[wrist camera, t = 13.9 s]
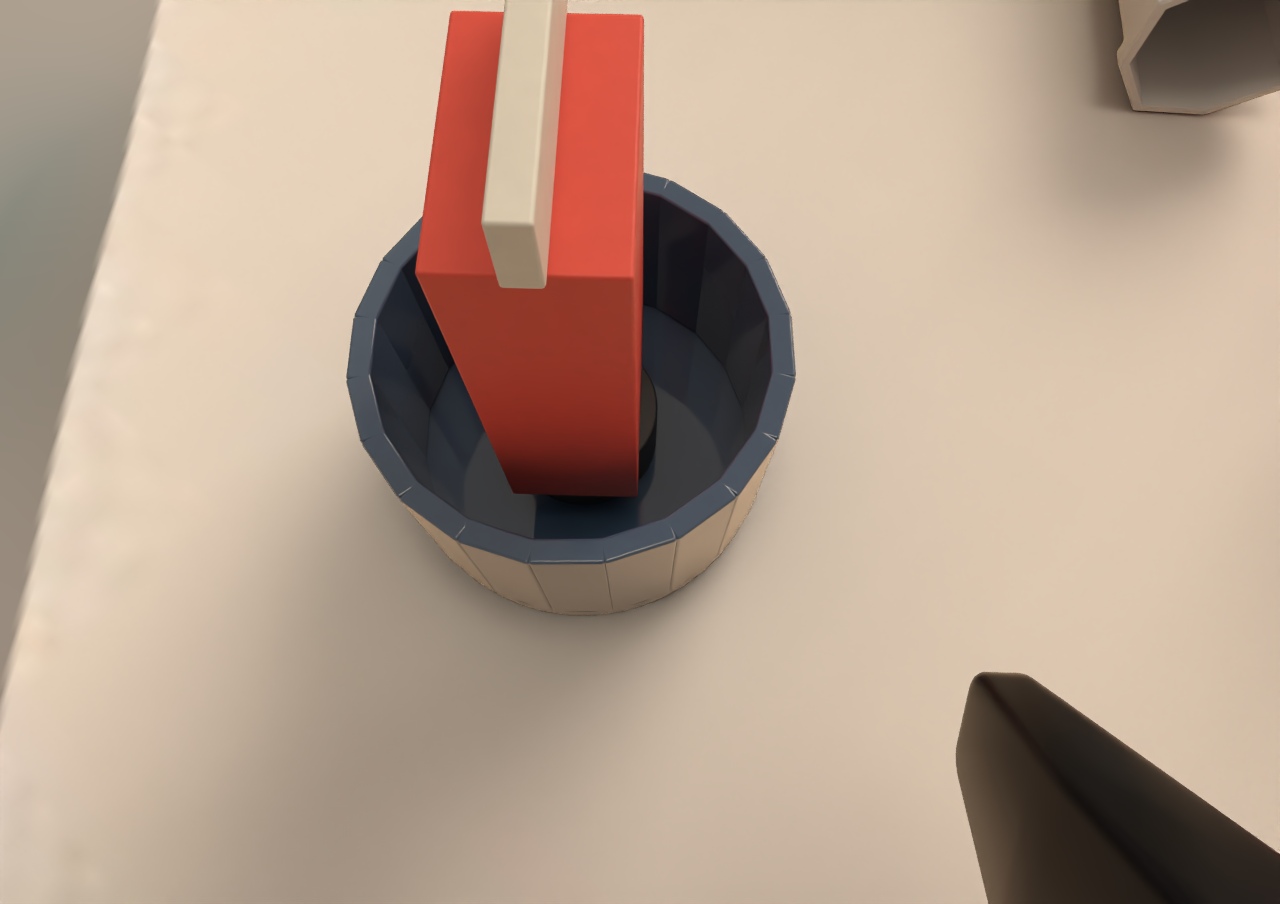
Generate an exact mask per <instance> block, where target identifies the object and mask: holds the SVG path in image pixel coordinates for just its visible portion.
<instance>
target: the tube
mask: <svg viewBox="0 0 1280 904" xmlns="http://www.w3.org/2000/svg"><path fill="white" fill-rule="evenodd" d="M1118 1H1119V8H1120V15H1121V21H1122V28H1123V35H1124V41H1123V43H1122V44H1121V46H1120V47H1119V49H1118V51H1117V59H1118V66H1119V69H1120V72H1121V75H1122V78H1123V81H1124V84H1125V87H1126V91H1127V94H1128V97H1129V100H1130V103H1131V106H1132V109H1133V110H1139V111H1155V112H1171V113H1188V114H1204V115H1205V114H1208V113H1211V112H1214V111H1217V110H1220V109H1223V108H1226V107H1229V106H1233V105H1236V104H1239V103H1242V102H1245V101H1248V100H1251V99H1254V98H1257V97H1260V96H1263V95H1267V94H1270V93H1273V92H1276V91H1279V90H1280V0H1118Z"/></svg>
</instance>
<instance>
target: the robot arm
mask: <svg viewBox="0 0 1280 904" xmlns="http://www.w3.org/2000/svg"><path fill="white" fill-rule="evenodd" d="M956 767H957V774H958V779H959V783H960V787H961V791H962V795H963V799H964V804H965V808H966V812H967V816H968V820H969V824H970V829H971V833H972V837H973V841H974V845H975V850H976V854H977V858H978V862H979V866H980V870H981V875H982V879H983V883H984V887H985V891H986V896H987V900H988V904H1280V854H1279V853H1277V852H1276V851H1275V850H1273V849H1272V848H1270V847H1269V846H1268V845H1266V844H1265V843H1263V842H1262V841H1261V840H1259V839H1258V838H1256V837H1255V836H1254V835H1252V834H1251V833H1249V832H1248V831H1247V830H1245V829H1244V828H1242V827H1241V826H1239V825H1238V824H1237V823H1235V822H1234V821H1232V820H1231V819H1230V818H1228V817H1227V816H1225V815H1224V814H1223V813H1221V812H1220V811H1218V810H1217V809H1216V808H1214V807H1213V806H1211V805H1210V804H1209V803H1207V802H1206V801H1204V800H1203V799H1202V798H1200V797H1199V796H1197V795H1196V794H1195V793H1193V792H1192V791H1190V790H1189V789H1187V788H1186V787H1185V786H1183V785H1182V784H1180V783H1179V782H1178V781H1176V780H1175V779H1173V778H1172V777H1171V776H1169V775H1168V774H1166V773H1165V772H1164V771H1162V770H1161V769H1159V768H1158V767H1157V766H1155V765H1154V764H1152V763H1151V762H1150V761H1148V760H1147V759H1145V758H1144V757H1142V756H1141V755H1140V754H1138V753H1137V752H1135V751H1134V750H1133V749H1131V748H1130V747H1128V746H1127V745H1126V744H1124V743H1123V742H1121V741H1120V740H1119V739H1117V738H1116V737H1114V736H1113V735H1112V734H1110V733H1109V732H1107V731H1106V730H1105V729H1103V728H1102V727H1100V726H1099V725H1098V724H1096V723H1095V722H1093V721H1092V720H1090V719H1089V718H1088V717H1086V716H1085V715H1083V714H1082V713H1081V712H1079V711H1078V710H1076V709H1075V708H1074V707H1072V706H1071V705H1069V704H1068V703H1067V702H1065V701H1064V700H1062V699H1061V698H1060V697H1058V696H1057V695H1055V694H1054V693H1053V692H1051V691H1050V690H1048V689H1047V688H1046V687H1044V686H1043V685H1041V684H1040V683H1038V682H1037V681H1036V680H1034V679H1033V678H1031V677H1029V676H1028V675H1025V674H1021V673H999V672H982V673H980V674H978V675H976V676H975V677H974V679H973V680H972V682H971V684H970V688H969V692H968V696H967V701H966V705H965V710H964V714H963V719H962V723H961V728H960V732H959V737H958V741H957V747H956Z"/></svg>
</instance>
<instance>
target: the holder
mask: <svg viewBox="0 0 1280 904" xmlns="http://www.w3.org/2000/svg"><path fill="white" fill-rule="evenodd" d="M422 218H423V216H422V217H421V219H420V220H419V221H418V222H417V223H416V224H415V225H414V226H413V227H412V228H411V229H410V230H409V231H408V232H407V233H406V234H405V235H404V236H403V237H402V239H401V240H400V241H399V242H398V243H397V244H396V245H395V246H394V247H393V248H392V249H391V250H390V251H389V252H388V253H387V254H386V255H385V256H384V257H383V261H381V262H380V264H379V266H378V268H377V270H376V272H375V274H374V276H373V278H372V280H371V282H370V284H369V286H368V288H367V290H366V292H365V295H364V297H363V299H362V301H361V303H360V305H359V307H358V309H357V311H356V313H355V317H354V319H353V327H352V335H351V344H350V352H349V360H348V368H347V377H346V378H347V387H348V391H349V395H350V399H351V404H352V408H353V412H354V416H355V420H356V425H357V429H358V433H359V437H360V441H361V442H362V445H363V447H364V449H365V450H366V452H367V453H368V455H369V456H370V458H371V459H372V460H373V462H374V463H375V465H376V466H377V468H378V469H379V471H380V472H381V474H382V475H383V477H384V478H385V480H386V481H387V483H388V484H389V486H390V487H391V489H392V490H393V492H394V493H395V495H396V496H397V498H398V499H399V500H400V501H401V502H402V503H403V505H404V506H405V507H406V508H407V509H408V510H409V512H410V513H411V514H412V515H413V516H414V517H415V519H416V520H417V521H418V522H419V523H420V524H421V526H422V527H423V528H424V529H425V530H426V531H427V533H428V534H429V535H430V536H431V537H432V538H433V539H434V541H435V542H436V543H437V544H438V545H439V546H440V548H441V549H442V550H443V551H444V552H445V553H446V555H447V556H448V557H449V558H450V559H451V560H452V561H453V562H455V563H456V564H457V565H459V566H460V567H461V568H462V569H463V570H464V571H466V572H467V573H468V574H469V575H470V576H472V577H473V578H474V579H475V580H477V581H478V582H479V583H480V584H482V585H484V586H485V587H487V588H489V589H490V590H492V591H493V592H495V593H497V594H498V595H500V596H502V597H504V598H507V599H509V600H511V601H514V602H516V603H518V604H521V605H523V606H527V607H531V608H534V609H538V610H541V611H545V612H551V613H558V614H566V615H600V614H608V613H616V612H621V611H625V610H629V609H633V608H636V607H640V606H643V605H646V604H648V603H651V602H653V601H656V600H658V599H661V598H663V597H665V596H667V595H669V594H670V593H672V592H674V591H676V590H677V589H679V588H681V587H683V586H684V585H686V584H687V583H689V582H690V581H691V580H692V579H694V578H695V577H696V576H698V575H699V574H700V573H702V572H703V571H704V570H705V569H706V568H707V567H708V566H709V565H710V564H711V563H712V562H713V561H714V560H715V559H716V558H717V557H718V556H719V555H720V554H721V553H722V552H723V550H724V549H725V548H726V546H727V545H728V544H729V542H730V541H731V540H732V539H733V537H734V536H735V534H736V532H737V530H738V529H739V527H740V525H741V523H742V522H743V520H744V519H745V517H746V516H747V515H748V513H749V511H750V509H751V507H752V504H753V502H754V499H755V497H756V494H757V492H758V489H759V487H760V484H761V482H762V479H763V477H764V474H765V472H766V469H767V467H768V464H769V462H770V459H771V457H772V454H773V452H774V449H775V447H776V444H777V442H778V439H779V436H780V433H781V429H782V425H783V422H784V418H785V415H786V411H787V408H788V404H789V401H790V397H791V394H792V390H793V387H794V383H795V376H796V370H795V356H794V343H793V329H792V317H791V315H790V310H789V308H788V306H787V303H786V301H785V299H784V297H783V294H782V292H781V290H780V288H779V285H778V283H777V281H776V278H775V276H774V274H773V272H772V269H771V267H770V265H769V263H768V260H767V259H766V258H765V256H764V254H763V253H762V252H761V251H760V250H759V249H758V248H757V247H756V246H755V245H754V243H753V242H752V241H751V240H750V239H749V238H748V237H747V236H746V235H745V234H744V232H743V231H742V230H741V229H740V228H739V227H738V226H737V225H736V224H735V223H734V222H733V220H732V219H731V218H730V217H729V216H728V215H727V214H726V213H725V212H724V213H723V211H722V210H721V209H719V208H717V207H716V206H714V205H712V204H711V203H709V202H707V201H706V200H704V199H702V198H700V197H699V196H697V195H695V194H694V193H692V192H690V191H689V190H687V189H685V188H684V187H682V186H680V185H678V184H677V183H675V182H673V181H669V180H668V179H666V178H662V177H658V176H655V175H651V174H647V173H643V339H642V366H643V367H644V369H645V370H646V371H647V373H648V374H649V376H650V378H651V380H652V382H653V385H654V388H655V391H656V397H657V408H658V410H657V434H656V447H655V451H654V455H653V458H652V460H651V463H650V465H649V467H648V468H647V470H646V472H645V473H644V475H643V476H642V477H641V479H640V480H639V481H638V495H637V496H636V497H615V498H613V499H610V500H607V501H604V502H600V503H594V504H572V503H567V502H563V501H560V500H557V499H554V498H552V497H550V496H548V495H543V494H514V493H513V492H512V489H511V487H510V485H509V483H508V480H507V478H506V476H505V474H504V471H503V469H502V467H501V465H500V462H499V460H498V458H497V456H496V453H495V451H494V449H493V447H492V444H491V442H490V440H489V438H488V435H487V433H486V431H485V429H484V427H483V424H482V422H481V420H480V418H479V415H478V413H477V411H476V409H475V406H474V404H473V402H472V400H471V397H470V395H469V393H468V391H467V388H466V386H465V384H464V382H463V379H462V377H461V375H460V373H459V370H458V368H457V366H456V364H455V361H454V359H453V357H452V355H451V353H450V350H449V348H448V346H447V344H446V341H445V339H444V337H443V335H442V332H441V330H440V328H439V326H438V323H437V321H436V319H435V317H434V314H433V312H432V310H431V308H430V305H429V303H428V301H427V299H426V296H425V294H424V292H423V290H422V287H421V285H420V283H419V281H418V279H417V276H416V274H415V269H416V262H417V254H418V247H419V240H420V232H421V225H422Z"/></svg>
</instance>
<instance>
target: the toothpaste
mask: <svg viewBox="0 0 1280 904" xmlns="http://www.w3.org/2000/svg"><path fill="white" fill-rule="evenodd" d="M567 3H568V0H505V6H504V12H480V11H452V12H451V13H450V19H449V26H448V34H447V41H446V48H445V56H444V63H443V70H442V78H441V85H440V93H439V100H438V107H437V115H436V122H435V129H434V137H433V144H432V151H431V159H430V166H429V174H428V181H427V188H426V196H425V203H424V210H423V218H422V225H421V232H420V240H419V247H418V254H417V262H416V269H415V274H416V276H417V279H418V281H419V283H420V285H421V287H422V290H423V292H424V294H425V296H426V299H427V301H428V303H429V305H430V308H431V310H432V312H433V314H434V317H435V319H436V321H437V323H438V326H439V328H440V330H441V332H442V335H443V337H444V339H445V341H446V344H447V346H448V348H449V350H450V353H451V355H452V357H453V359H454V361H455V364H456V366H457V368H458V370H459V373H460V375H461V377H462V379H463V382H464V384H465V386H466V388H467V391H468V393H469V395H470V397H471V400H472V402H473V404H474V406H475V409H476V411H477V413H478V415H479V418H480V420H481V422H482V424H483V427H484V429H485V431H486V433H487V435H488V438H489V440H490V442H491V444H492V447H493V449H494V451H495V453H496V456H497V458H498V460H499V462H500V465H501V467H502V469H503V471H504V474H505V476H506V478H507V480H508V483H509V485H510V487H511V489H512V492H513V493H514V494H543V495H548V496H550V497H552V498H554V499H557V500H560V501H563V502H567V503H572V504H594V503H600V502H604V501H607V500H610V499H613V498H615V497H636V496H637V495H638V481H639V480H640V479H641V477H642V476H643V475H644V473H645V472H646V470H647V468H648V467H649V465H650V463H651V460H652V458H653V455H654V451H655V447H656V434H657V410H658V408H657V397H656V391H655V388H654V385H653V382H652V380H651V378H650V376H649V374H648V373H647V371H646V370H645V369H644V367H643V366H642V339H643V144H644V19H643V16H642V15H624V14H576V13H567Z"/></svg>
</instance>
